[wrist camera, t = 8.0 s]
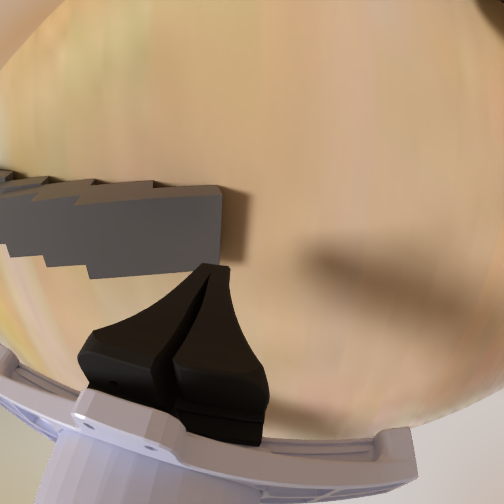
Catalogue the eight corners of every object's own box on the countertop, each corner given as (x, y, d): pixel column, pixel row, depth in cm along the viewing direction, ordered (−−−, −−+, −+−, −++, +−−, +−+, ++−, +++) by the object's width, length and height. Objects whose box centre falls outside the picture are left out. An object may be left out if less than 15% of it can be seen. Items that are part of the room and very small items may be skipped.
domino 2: (99, 251, 19) (10, 257, 16) (103, 239, 20) (17, 246, 18) (89, 186, 16) (-6, 199, 14) (95, 178, 17) (4, 191, 15)
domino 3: (157, 259, 18) (46, 267, 16) (157, 246, 20) (53, 254, 17) (152, 189, 16) (29, 201, 13) (153, 180, 17) (39, 192, 15)
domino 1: (51, 241, 18) (-20, 245, 16) (57, 231, 20) (-12, 235, 17) (41, 183, 16) (-33, 193, 13) (49, 175, 17) (-23, 186, 15)
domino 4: (219, 268, 18) (89, 279, 16) (214, 254, 20) (94, 264, 17) (222, 194, 16) (73, 205, 13) (217, 185, 17) (80, 194, 14)
